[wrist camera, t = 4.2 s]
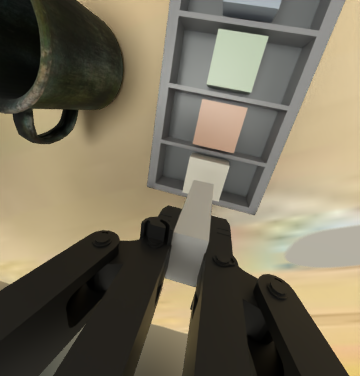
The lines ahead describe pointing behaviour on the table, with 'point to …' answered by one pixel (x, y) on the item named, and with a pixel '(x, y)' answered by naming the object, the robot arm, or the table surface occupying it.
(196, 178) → the key ivory
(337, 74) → the table surface
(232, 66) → the key sage
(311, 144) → the table surface
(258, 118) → the grey compartment rack
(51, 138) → the mug
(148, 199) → the table surface
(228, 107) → the block
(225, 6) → the key slate
